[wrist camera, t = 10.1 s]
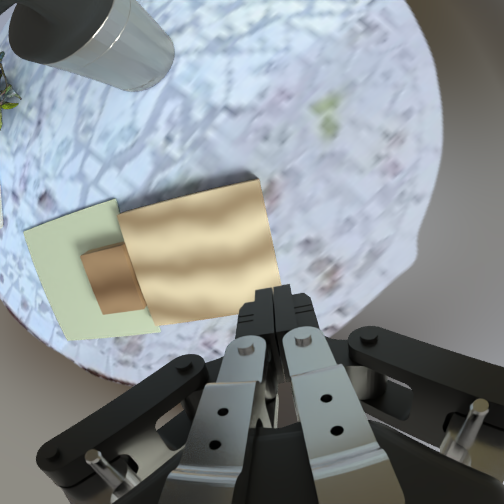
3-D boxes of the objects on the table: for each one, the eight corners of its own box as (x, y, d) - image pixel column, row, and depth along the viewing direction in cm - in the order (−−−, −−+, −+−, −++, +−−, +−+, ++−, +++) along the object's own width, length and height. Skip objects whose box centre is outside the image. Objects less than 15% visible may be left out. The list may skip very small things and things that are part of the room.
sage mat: (24, 231, 39) (23, 231, 38) (115, 198, 37) (114, 198, 36) (68, 339, 45) (67, 340, 44) (160, 330, 43) (160, 332, 43)
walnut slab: (88, 250, 39) (79, 256, 36) (129, 239, 38) (121, 245, 36) (109, 306, 42) (102, 314, 39) (150, 300, 41) (144, 309, 39)
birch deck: (123, 212, 37) (116, 215, 35) (259, 178, 36) (258, 179, 34) (159, 318, 42) (155, 326, 40) (283, 298, 41) (284, 305, 39)
